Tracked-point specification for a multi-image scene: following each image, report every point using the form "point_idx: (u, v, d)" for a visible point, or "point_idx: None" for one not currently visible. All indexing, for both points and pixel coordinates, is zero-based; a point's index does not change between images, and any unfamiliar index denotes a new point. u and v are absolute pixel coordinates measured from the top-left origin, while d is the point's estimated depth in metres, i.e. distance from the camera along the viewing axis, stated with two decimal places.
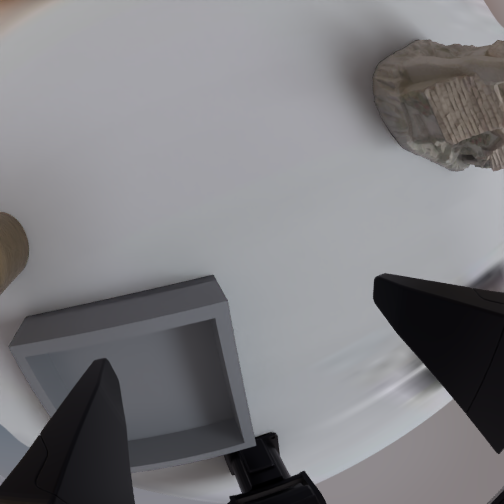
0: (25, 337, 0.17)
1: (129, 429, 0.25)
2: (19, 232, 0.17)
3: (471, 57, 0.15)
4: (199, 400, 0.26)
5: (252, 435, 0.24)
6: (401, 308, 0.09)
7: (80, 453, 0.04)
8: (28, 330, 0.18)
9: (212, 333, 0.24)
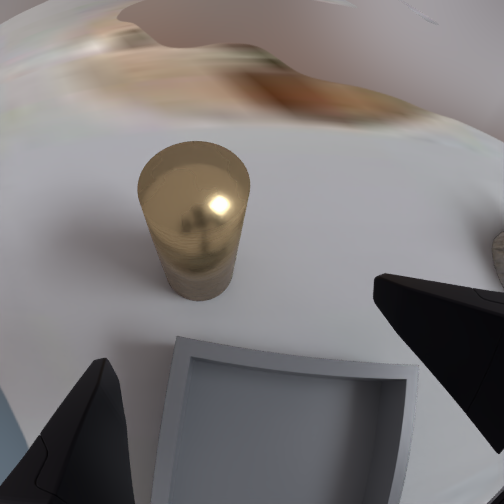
0: None
1: None
2: None
3: None
4: None
5: None
6: (401, 308, 0.09)
7: (80, 453, 0.04)
8: None
9: (375, 424, 0.19)
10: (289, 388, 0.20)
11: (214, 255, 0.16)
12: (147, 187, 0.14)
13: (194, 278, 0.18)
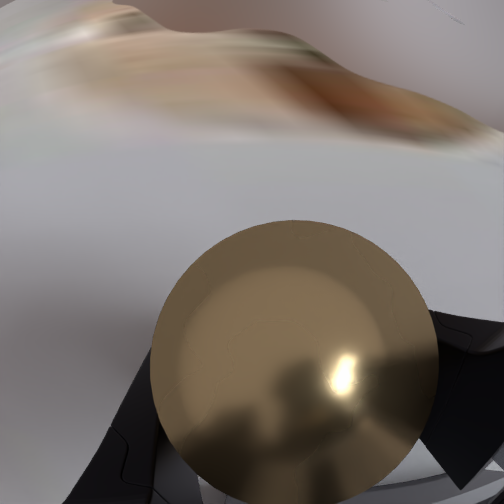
0: None
1: None
2: None
3: None
4: None
5: None
6: None
7: (163, 440, 0.05)
8: None
9: None
10: None
11: None
12: (182, 387, 0.04)
13: None
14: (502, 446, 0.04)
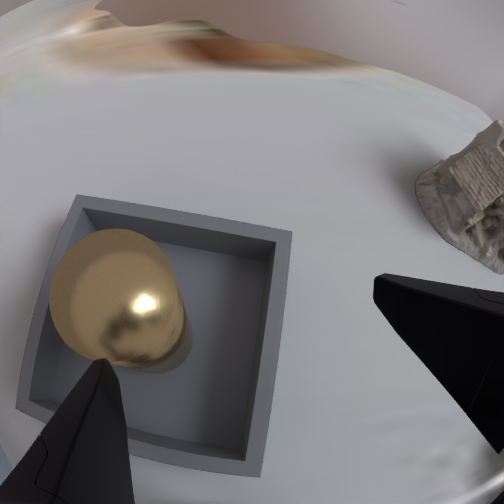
0: None
1: None
2: None
3: (476, 135, 0.24)
4: (208, 392, 0.20)
5: (261, 450, 0.15)
6: (401, 308, 0.09)
7: (80, 453, 0.04)
8: None
9: (260, 305, 0.23)
10: (170, 255, 0.23)
11: (148, 363, 0.13)
12: (59, 296, 0.10)
13: (138, 369, 0.15)
14: None
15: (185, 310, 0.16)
